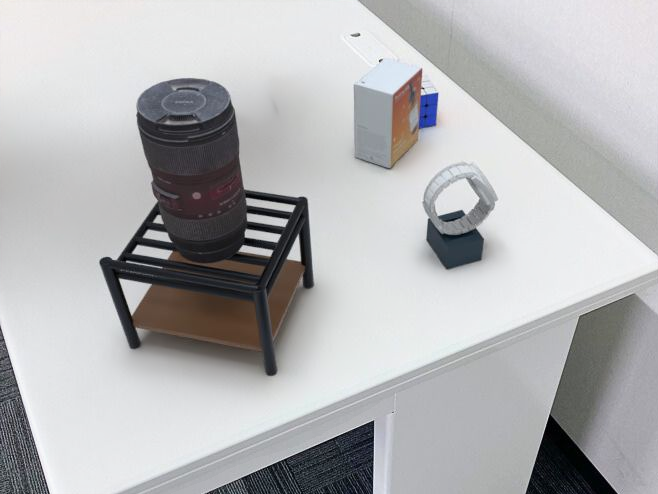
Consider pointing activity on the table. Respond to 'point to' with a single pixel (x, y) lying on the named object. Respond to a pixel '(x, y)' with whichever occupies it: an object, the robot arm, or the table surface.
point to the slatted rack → (217, 284)
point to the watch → (458, 216)
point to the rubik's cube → (428, 103)
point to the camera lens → (195, 166)
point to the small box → (387, 112)
